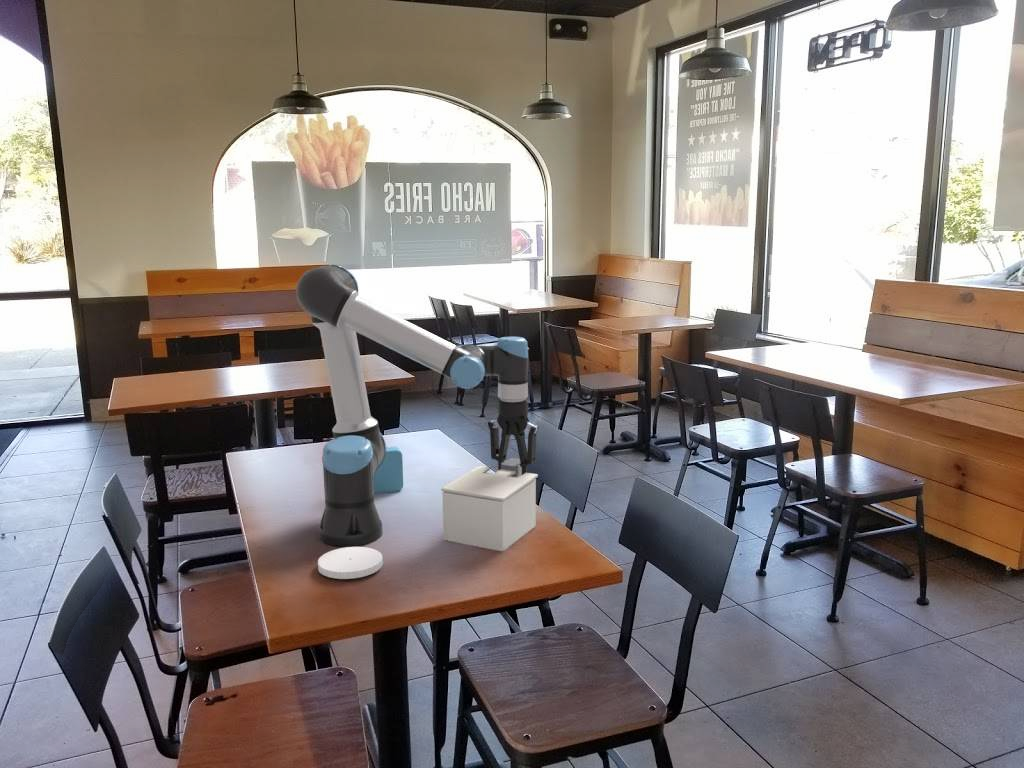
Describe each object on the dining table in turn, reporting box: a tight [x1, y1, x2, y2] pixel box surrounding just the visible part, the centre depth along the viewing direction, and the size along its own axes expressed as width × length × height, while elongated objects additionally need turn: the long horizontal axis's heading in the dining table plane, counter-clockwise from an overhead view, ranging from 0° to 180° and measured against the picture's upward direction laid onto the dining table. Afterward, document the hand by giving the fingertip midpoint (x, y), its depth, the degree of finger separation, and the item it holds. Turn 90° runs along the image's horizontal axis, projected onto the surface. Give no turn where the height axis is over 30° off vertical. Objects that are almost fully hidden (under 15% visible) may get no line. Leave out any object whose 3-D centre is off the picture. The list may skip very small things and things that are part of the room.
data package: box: [373, 446, 404, 494], centre depth 234 cm, size 12×4×12 cm, turn 106°
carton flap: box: [440, 457, 539, 501], centre depth 203 cm, size 25×17×3 cm
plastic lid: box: [317, 546, 384, 580], centre depth 182 cm, size 14×14×2 cm
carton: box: [442, 472, 537, 552], centre depth 202 cm, size 18×16×12 cm
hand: (513, 487), depth 212 cm, fingers closed on carton flap, 4 cm apart
